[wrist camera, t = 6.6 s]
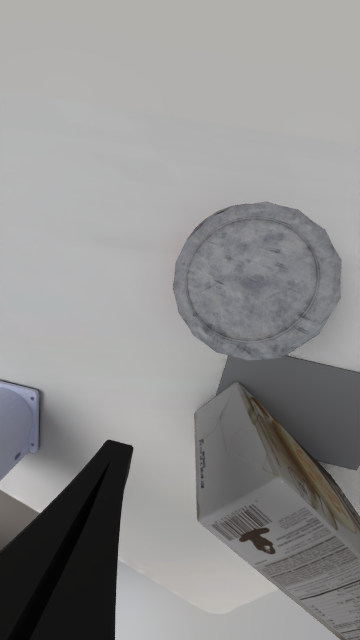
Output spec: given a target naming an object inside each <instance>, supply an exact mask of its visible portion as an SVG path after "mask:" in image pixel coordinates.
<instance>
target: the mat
mask: <svg viewBox="0 0 360 640" xmlns="http://www.w3.org/2000/svg"><path fill="white" fill-rule="evenodd" d="M235 382H238V383H240V384H241V385H242V386H243V387H244V388H245V389H246V390H247V391H248V392H249V393H250V394H251V395H252V396H253V397H254V398H255V399H256V400H257V401H258V402H259V403H260V404H261V405H262V406H263V407H264V408H265V409H266V410H267V411H268V412H269V413H270V414H271V415H272V416H273V417H274V418H275V419H276V420H277V421H278V422H279V423H280V424H281V425H282V426H283V427H284V428H285V429H286V430H287V431H288V433H289V434H290V435H291V436H292V437H293V438H294V439H295V440H296V441H297V442H298V443H299V444H300V445H301V446H302V447H303V448H304V449H305V450H306V451H307V452H308V453H309V454H310V455H311V456H312V457H313V458H314V459H315V460H317V461H321V462H325V463H329V464H333V465H337V466H341V467H345V468H349V469H353V470H357V469H358V467H359V465H360V373H359V372H355V371H351V370H346V369H342V368H338V367H333V366H329V365H325V364H320V363H316V362H312V361H307V360H303V359H299V358H294V357H290V356H286V355H285V356H284V357H282V358H276V359H265V360H250V361H247V360H244V359H240V358H237V357H234V356H230V355H228V358H227V361H226V365H225V368H224V371H223V374H222V378H221V381H220V384H219V387H218V391H217V394H216V396H217V395H219V394H220V393H221V392H223V391H224V390H225V389H227V388H228V387H229V386H231V385H232V384H233V383H235Z"/></svg>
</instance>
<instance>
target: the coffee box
mask: <svg viewBox="0 0 360 640" xmlns="http://www.w3.org/2000/svg"><path fill="white" fill-rule="evenodd" d="M194 419H195V459H196V498H197V519H198V521H199V522H200V523H201V524H202V525H203V526H204V527H205V528H207V529H208V530H209V531H210V532H211V533H213V534H214V535H215V536H216V537H218V538H219V539H220V540H221V541H223V542H224V543H225V544H226V545H227V546H228V547H230V548H231V549H232V550H233V551H234V552H236V553H237V554H238V555H239V556H240V557H242V558H243V559H244V560H245V561H246V562H248V563H249V564H250V565H251V566H253V567H254V568H255V569H256V570H257V571H258V572H260V573H261V574H262V575H263V576H265V577H266V578H267V579H268V580H269V581H271V582H272V583H273V584H274V585H276V586H277V587H278V588H279V589H280V590H281V591H283V592H284V593H285V594H286V595H287V596H289V597H290V598H291V599H292V600H294V601H295V602H296V603H297V604H299V605H300V606H301V607H302V608H303V609H305V610H306V611H307V612H308V613H310V614H311V615H312V616H313V617H314V618H316V619H317V620H318V621H319V622H320V623H321V624H323V625H324V626H325V627H327V629H329V630H330V631H331V632H332V633H333V634H335V635H336V636H337V637H338V638H340V639H341V640H360V516H359V515H358V513H357V512H356V511H355V509H354V508H353V506H352V505H351V503H350V502H349V501H348V499H347V498H346V496H345V495H344V493H343V492H342V491H341V489H340V488H339V486H338V485H337V483H336V482H335V481H334V479H333V478H332V476H331V475H330V474H329V473H328V472H327V471H326V470H325V469H324V468H323V467H322V466H321V465H320V464H319V463H318V462H317V461H316V460H315V459H314V458H313V457H312V456H311V455H310V454H309V453H308V452H307V451H306V450H305V449H304V448H303V447H302V446H301V445H300V444H299V443H298V442H297V441H296V440H295V439H294V438H293V437H292V436H291V435H290V434H289V433H288V431H287V430H286V429H285V428H284V427H283V426H282V425H281V424H280V423H279V422H278V421H277V420H276V419H275V418H274V417H273V416H272V415H271V414H270V413H269V412H268V411H267V410H266V409H265V408H264V407H263V406H262V405H261V404H260V403H259V402H258V401H257V400H256V399H255V398H254V397H253V396H252V395H251V394H250V393H249V392H248V391H247V390H246V389H245V388H244V387H243V386H242V385H241V384H240V383H238V382H235V383H233V384H232V385H231V386H229V387H228V388H227V389H225V390H224V391H223V392H221V393H220V394H219V395H217V396H216V397H215V398H213V399H212V400H211V401H209V402H208V403H207V404H205V405H204V406H202V407H201V408H200V409H198V410H197V411H196V412H195V414H194Z"/></svg>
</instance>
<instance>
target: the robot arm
mask: <svg viewBox="0 0 360 640" xmlns="http://www.w3.org/2000/svg"><path fill="white" fill-rule="evenodd" d="M38 441H39V392H38V391H37V390H35V389H31V388H27V387H23V386H19V385H15V384H11V383H7V382H3V381H0V481H1V480H2V479H3V478H4V477H5V476H6V475H7V474H8V473H9V471H10V470H11V469H12V468H13V467H14V466H15V465H16V464H17V463H18V462H19V461H20V460H21V459H22V458H23V457H24V456H25V455H26V454H27V453H28V452H29V453H36V452H37V451H38ZM132 453H133V447H132V445H128V444H124V443H120V442H116V441H112V440H107V441H106V442H105V443H104V444H103V446H102V447H101V448H100V449H99V451H98V452H97V453H96V454H95V456H94V457H93V458H92V459H91V460H90V461H89V463H88V464H87V465H86V466H85V467H84V468H83V469H82V471H81V472H80V473H79V474H78V475H77V476H76V477H75V478H74V479H73V480H72V481H71V483H70V484H69V485H68V486H67V487H66V488H65V489H64V490H63V491H62V492H61V493H60V494H59V495H58V496H57V497H56V498H55V499H54V500H53V501H52V502H51V503H50V504H49V505H48V506H47V507H46V508H45V509H44V510H43V511H42V512H41V513H40V514H39V515H38V516H37V517H36V519H34V520H33V521H32V522H31V523H30V524H29V525H28V526H27V527H26V528H25V529H24V530H23V531H22V532H20V533H19V534H18V535H17V536H16V537H15V538H14V539H13V540H12V541H11V542H10V543H9V544H7V545H6V546H5V547H4V548H3V549H2V550H1V551H0V640H115V605H116V579H117V560H118V544H119V531H120V519H121V509H122V501H123V493H124V488H125V484H126V481H127V477H128V474H129V469H130V463H131V458H132Z"/></svg>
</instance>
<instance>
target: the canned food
mask: <svg viewBox="0 0 360 640" xmlns="http://www.w3.org/2000/svg"><path fill="white" fill-rule="evenodd" d="M340 276H341V259H340V257H339V256H338V254H337V252H336V251H335V249H334V247H333V246H332V243H331V241H330V239H329V237H328V235H327V233H326V230H325V229H323V228H322V227H320V226H319V225H317V224H316V223H315V222H313V221H312V220H310V219H309V218H308V217H307V216H305V215H304V214H303V213H302V212H301V211H299V210H298V209H293V208H288V207H283V206H279V205H276V204H273V203H269V202H262V203H255V204H242V205H235V206H231V207H228V208H225V209H222V210H220V211H218V212H216V213H214V214H213V215H211V216H209V217H208V218H206V219H205V220H204V221H203V222H202V223H201V224H200V225H198V226H197V227H196V228H195V230H194V231H193V232H192V234H191V235H190V236H189V237H188V239H187V241H186V243H185V245H184V247H183V249H182V251H181V253H180V255H179V257H178V259H177V261H176V266H175V277H174V284H173V290H174V294H175V298H176V301H177V306H178V311H179V314H180V315H181V317H182V318H183V320H184V321H185V323H186V324H187V326H188V327H189V329H190V330H191V332H192V334H193V335H194V336H195V337H197V338H198V339H200V340H201V341H202V342H204V343H205V344H207V345H208V346H209V347H210V348H212V349H213V350H214V351H216V352H218V353H222V354H226V355H230V356H234V357H237V358H240V359H244V360H247V361H250V360H265V359H276V358H282V357H284V356H285V355H287V354H288V353H290V352H291V351H293V350H295V349H296V348H298V347H299V346H301V345H302V344H304V343H305V342H307V341H308V340H310V339H312V338H313V337H315V336H316V335H318V334H319V333H320V331H321V329H322V328H323V326H324V324H325V323H326V321H327V319H328V318H329V316H330V314H331V313H332V311H333V309H334V308H335V306H336V304H337V303H338V301H339V299H340V298H341V297H340Z"/></svg>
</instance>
